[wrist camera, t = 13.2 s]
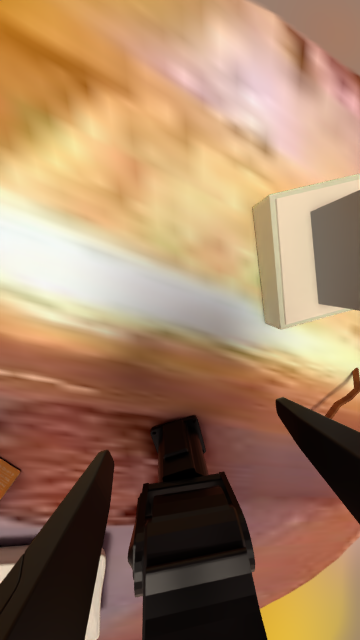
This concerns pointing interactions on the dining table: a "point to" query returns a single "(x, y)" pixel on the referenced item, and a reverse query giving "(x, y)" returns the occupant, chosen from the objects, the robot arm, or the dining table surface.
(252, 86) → the dining table surface
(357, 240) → the block
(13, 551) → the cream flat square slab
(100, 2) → the dining table surface
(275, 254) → the stand
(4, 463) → the small box
